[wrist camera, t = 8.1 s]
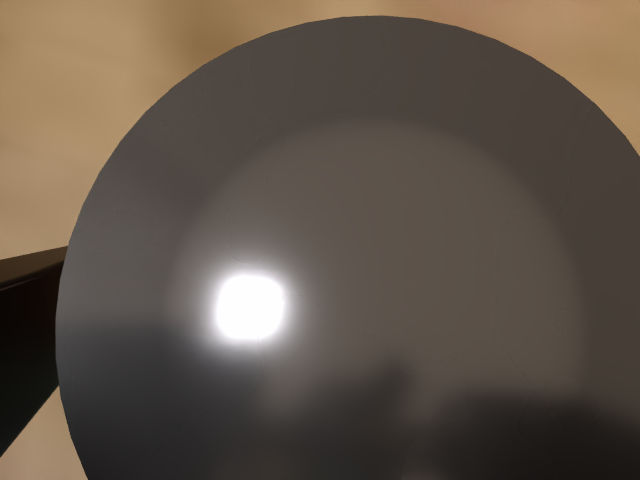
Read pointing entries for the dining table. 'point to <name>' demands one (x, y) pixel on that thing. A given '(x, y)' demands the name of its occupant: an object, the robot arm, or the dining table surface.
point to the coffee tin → (359, 270)
